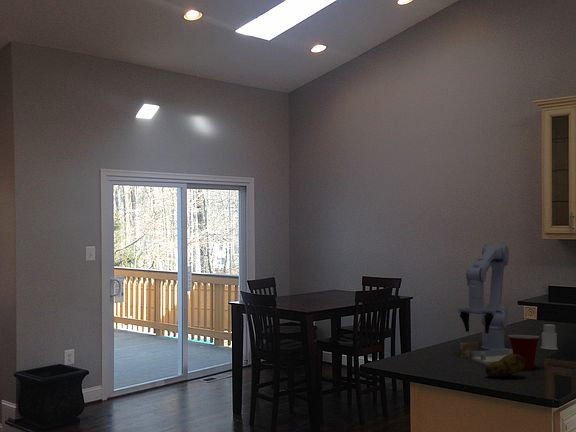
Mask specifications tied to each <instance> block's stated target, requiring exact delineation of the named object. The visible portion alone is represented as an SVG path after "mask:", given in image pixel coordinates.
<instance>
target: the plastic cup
mask: <svg viewBox="0 0 576 432" xmlns="http://www.w3.org/2000/svg"><path fill="white" fill-rule="evenodd" d="M507 338H509V341H510V346H511V349H512V351H513V354H518V355H521V356H522V357H523V358H524V359H525V361H526V364H525V367H524V371H527V370H529V371H530V370H534V367H535V359H536V353H537V348H538V343H539V339H540V338H541V336H538V335H529V334H526V335H525V334H508V335H507Z"/></svg>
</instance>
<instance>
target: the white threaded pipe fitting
mask: <svg viewBox="0 0 576 432" xmlns="http://www.w3.org/2000/svg"><path fill="white" fill-rule="evenodd" d="M557 335H558V333H557V332H556V324H551V323H550V324H549V323H547V324H543V331H542V332H541V346H540V349H543V350H559V348H558V347H557V346H558V343H557V341H558V336H557Z"/></svg>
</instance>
